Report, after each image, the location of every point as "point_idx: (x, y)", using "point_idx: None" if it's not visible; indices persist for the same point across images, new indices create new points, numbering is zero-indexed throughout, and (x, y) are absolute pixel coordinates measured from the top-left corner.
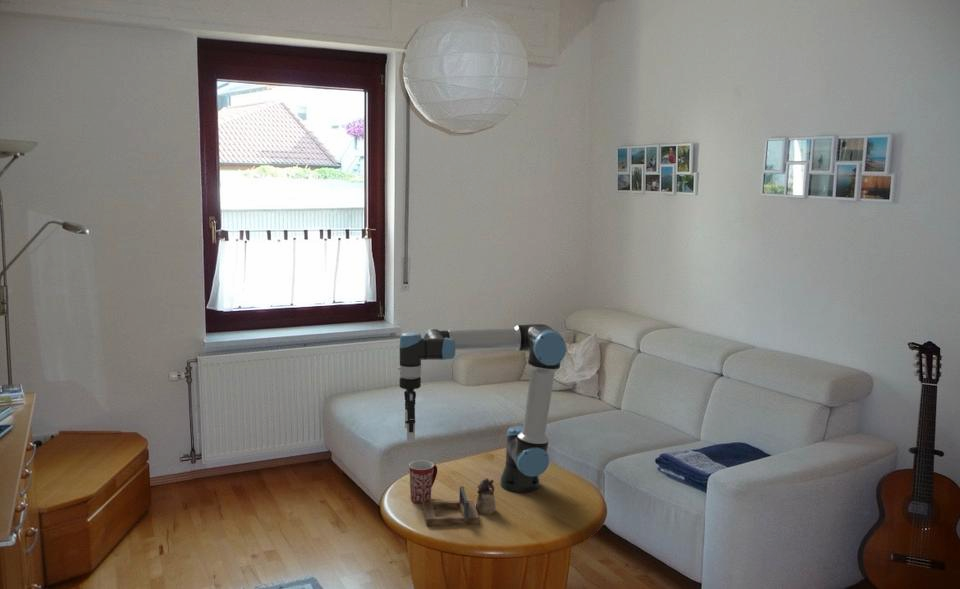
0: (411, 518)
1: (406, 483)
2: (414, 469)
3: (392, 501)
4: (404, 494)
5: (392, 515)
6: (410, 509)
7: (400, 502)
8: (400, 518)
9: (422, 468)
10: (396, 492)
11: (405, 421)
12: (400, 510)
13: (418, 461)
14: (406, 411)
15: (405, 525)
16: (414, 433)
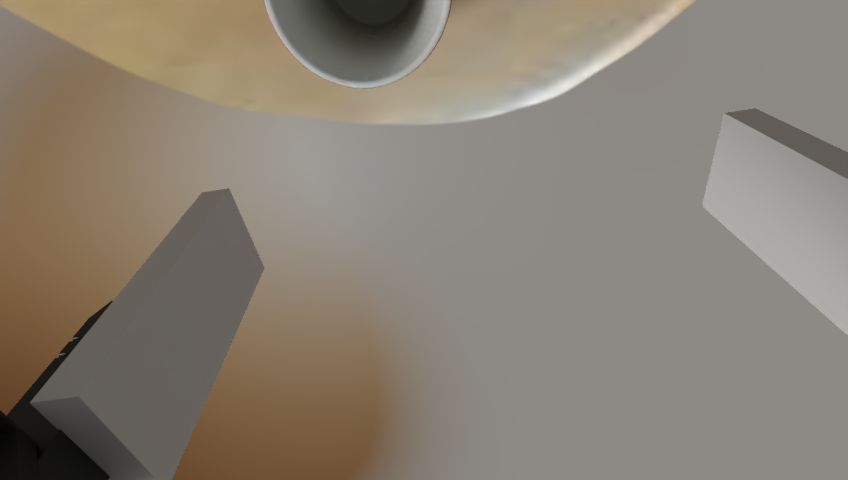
0: (587, 5)
1: (194, 73)
2: (439, 39)
3: (409, 113)
4: None
5: (548, 96)
6: (490, 20)
7: (416, 77)
8: (581, 58)
9: None
10: (311, 108)
11: (235, 325)
12: (500, 67)
13: (281, 22)
14: (160, 467)
15: (654, 27)
16: (837, 155)
